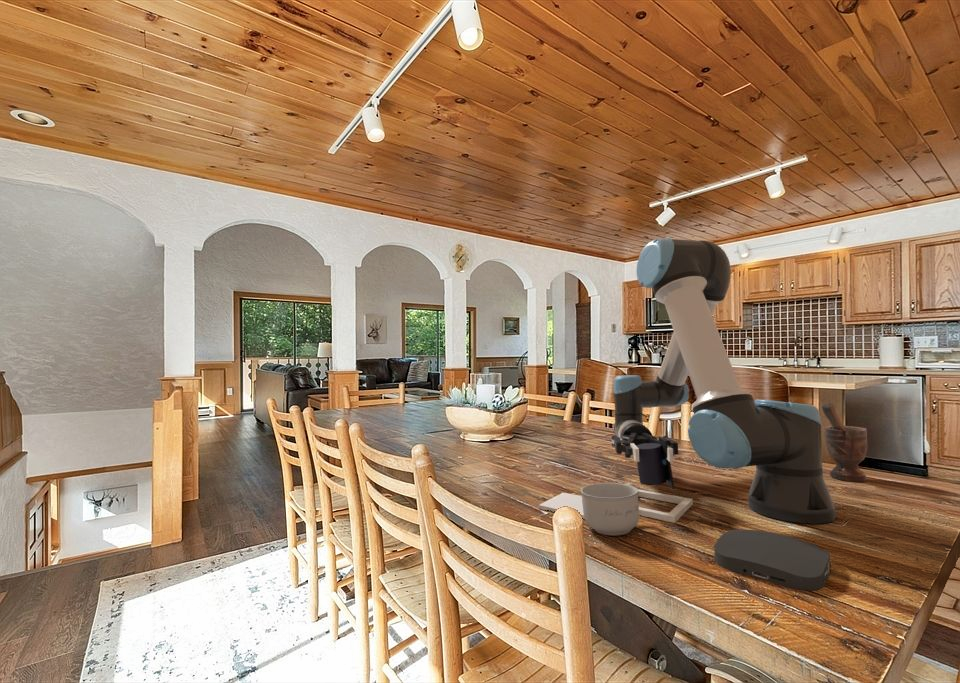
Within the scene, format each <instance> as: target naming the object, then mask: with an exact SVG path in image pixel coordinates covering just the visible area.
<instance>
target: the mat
mask: <svg viewBox="0 0 960 683" xmlns="http://www.w3.org/2000/svg"><path fill="white" fill-rule="evenodd" d="M563 506H568V507H571V508H574V509H576V510H578V512H580V514H581V515H582V517H583V519H582V520H585V518H584V513H583V504H582V495H578V494H573V493H567V492H561V493H559V494H558V495H556V496H554V497H552V498H550V499H547V500H545V501H544V502H542V503H540V504H538V509H540V510H544V511H547V510H549V511H548V512H551V511H552V513H555V512H554V511H555V510H556V509H558V508H560V507H563ZM550 510H551V511H550Z"/></svg>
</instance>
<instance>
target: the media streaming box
mask: <svg viewBox="0 0 960 683" xmlns="http://www.w3.org/2000/svg"><path fill="white" fill-rule="evenodd" d="M713 548H714V561H715V563H716V564H717V565H718V566H720V567H722V568H724V569H725V570H728V571H731V572H734V573H738V574H741V575H745V576H748V577H751V578H754V579H758V580H762V581H764V582H769V583H772V584H775V585H778V586H779V585H780V586H783V587H787V588H791V589H794V590H799V591H811V592H812V591H813V592H814V591H818V590H822V589H823V588H824V587H825V585H826V584H827V581H828V579H829V576H830V573H831V572H830V571H831V566H832V565H831V553H830V552H829V551H828V550H826V549H824V548H822V547H821V546H818V545H817V544H814V543H812V542H809V541H808V540H807V541H806V540H803V539H800V538H797V537H794V536H791V535H790V536H789V535H786V534H781V533H779V532H771V531H766V530H765V531H764V530H757V529H729V530H727V531H726V532H723V533H722V535H721V536H719V538H718V539H717V541H716V542H715V544H714V546H713Z"/></svg>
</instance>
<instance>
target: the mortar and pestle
mask: <svg viewBox="0 0 960 683" xmlns="http://www.w3.org/2000/svg"><path fill="white" fill-rule="evenodd" d="M821 410H822V412H823V414H824V416H825V417H826V419H827V420H828V422H829V423H830V425H828V426H827V425H826V426H825V427H824V440H825V446H826V450H827V453H828V455H829V456H830V457H831V458H832V459H833V461H835V463H836V464H835V466H834V467H833V469H832V470H831V471H830V474H829V476H831V477H833V478H834V479H836V480H840V481H844V482H845V481H846V482H854V483H855V482H857V483H858V482H859V483H860V482H866V481H867V475H866V473H865V472H864V471H862V470H861V468H859V464H860V463H861V462H863V461H864V460H865V458H866V455H867V452H868V430H867V427H859V426H852V425H849V426H848V425H843V423H842V421H841V417H840V414H839V411H838V409H837V407H836V405H835V404H834V403H831V402H826V403H824V404H822V406H821Z"/></svg>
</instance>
